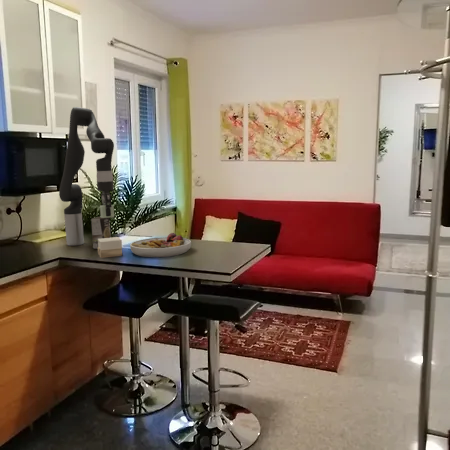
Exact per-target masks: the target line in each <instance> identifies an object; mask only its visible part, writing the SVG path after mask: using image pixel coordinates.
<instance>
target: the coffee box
mask: <svg viewBox="0 0 450 450" xmlns="http://www.w3.org/2000/svg"><path fill="white" fill-rule="evenodd" d="M110 220H111V219H110V217H109V218H102V217H101V216H97V217H92V218H91V219H90V221H91V236H92V248H93V249H97V250H98V239H101V238H112V237H111V225H110V224H111V223H110Z"/></svg>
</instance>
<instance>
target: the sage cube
mask: <svg viewBox="0 0 450 450" xmlns="http://www.w3.org/2000/svg"><path fill="white" fill-rule="evenodd" d="M111 205H112V206H111V208H110V209H111V216H106V208H105V205H102V204H101V205H99V210H100V217H102V218H109V219H110V218H115V208H114V207H115V206H114V205H113V204H111Z"/></svg>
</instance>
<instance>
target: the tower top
mask: <svg viewBox="0 0 450 450" xmlns="http://www.w3.org/2000/svg"><path fill="white" fill-rule="evenodd" d="M122 243H123V242H122V239H121V238H120V237H119V236H115V237H114V236H113V237H111V238H101V239H98V247H99V248H100V250H109V249H119V248H122V249H123V244H122Z"/></svg>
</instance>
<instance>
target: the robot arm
mask: <svg viewBox="0 0 450 450" xmlns="http://www.w3.org/2000/svg"><path fill="white" fill-rule="evenodd" d="M97 122H98V121H97V119H96V116H95V114H94V112H93V110H92V109H90V108H87V107H79V106H73V107H72V108H71V110H70V115H69V126H68V127H69V128H68V140H67V145H66V151H65V159H64V167H63V173H62V177H61V180H60V181H61V182H60V185H59V189H58V190H59V191H58V194H59V195H58V196H59V199H60V201H62V202H64V203H68V202H70V203H69V205H68V206H67V207H66V208H64V209H63V214H64V215H63V216H64V227H65V240H66V245H67V246H81V245H84V244H85V240H84V235H85V234H84V226H83V223H84V222H83V214H82V213H83V212H82V211H83V191H82V188H81V186H80V184H77V183H73V181H74V179H75V177H76V175H77V173H79V171H80V169H81V168H82V166H83V164H84V159H85V152H86V151H85V148H84V145H83V143H82V141H81V139H80V137H79V133H78V126H80V127H87V128H86V132H85V133H86V136H87V138H88V140H89V141H90V149H91V151H92V152H93V153H94V154H105V155H104V156H103V157H101V158H98V159H97V158H96V161H95V164H96V166H95V167H96V188H97V191H98V192H102V193H101V194H100V197H101V205H105V208H106V216H111V209H110V208H111V206H112V205H113V204H112V195H111V194H110V191H113V190H114V178H113V177H114V176H113V170H112V168H113V167H112V160H113V153H114V149H115V143H114V140H113V139H111V138H109V137H108V138H107V137H105V135H104V133H103V131H102V130H101V129H100V127H99V125H98V123H97Z"/></svg>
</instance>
